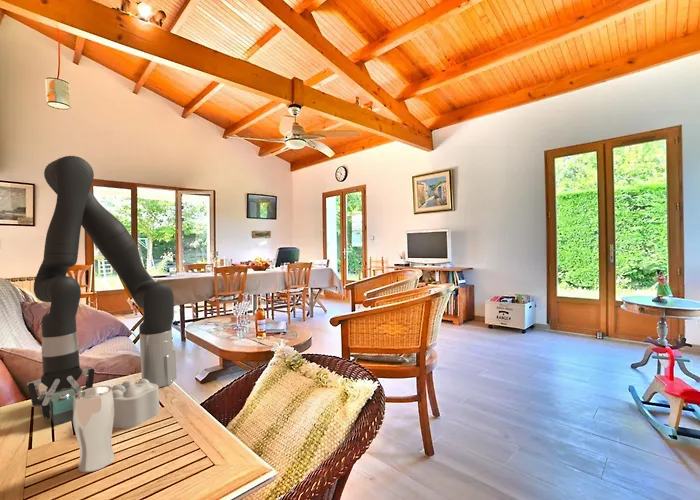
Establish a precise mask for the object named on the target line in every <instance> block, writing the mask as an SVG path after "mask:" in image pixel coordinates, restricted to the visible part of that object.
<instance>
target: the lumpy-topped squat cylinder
mask: <svg viewBox="0 0 700 500" xmlns="http://www.w3.org/2000/svg"><path fill="white" fill-rule="evenodd" d="M111 387H112V392H113V398H114V412H115V413H114V423H113V428H116V429H123V430H124V429H131V428H136V427H137V426H140V425H142V424H143V423H145V422H147V421H148V420H151V419H153V418H154V417H157V416H158V415H159V414H160V396H159V387H158V385H156V384H153V383H150V382H149V381H148V380H147V379H142V378H141V379H139V380H138V381H135V382H134V381H132V380H125V381H123V382H122V383H119V384H115V385H114V386H111ZM156 415H157V416H156Z"/></svg>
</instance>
